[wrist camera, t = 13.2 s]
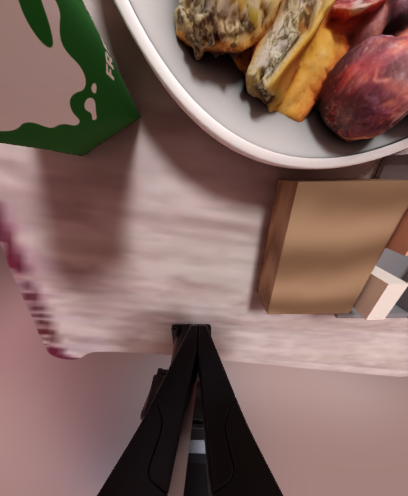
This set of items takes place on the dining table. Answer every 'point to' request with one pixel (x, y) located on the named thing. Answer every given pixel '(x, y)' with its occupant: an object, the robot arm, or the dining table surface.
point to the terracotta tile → (400, 237)
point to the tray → (389, 260)
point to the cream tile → (379, 295)
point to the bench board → (327, 241)
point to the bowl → (284, 74)
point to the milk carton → (58, 78)
